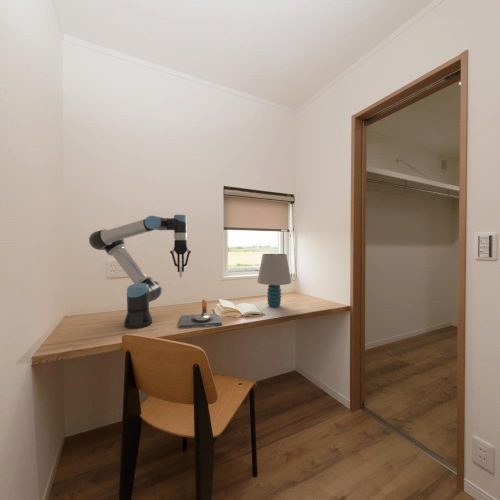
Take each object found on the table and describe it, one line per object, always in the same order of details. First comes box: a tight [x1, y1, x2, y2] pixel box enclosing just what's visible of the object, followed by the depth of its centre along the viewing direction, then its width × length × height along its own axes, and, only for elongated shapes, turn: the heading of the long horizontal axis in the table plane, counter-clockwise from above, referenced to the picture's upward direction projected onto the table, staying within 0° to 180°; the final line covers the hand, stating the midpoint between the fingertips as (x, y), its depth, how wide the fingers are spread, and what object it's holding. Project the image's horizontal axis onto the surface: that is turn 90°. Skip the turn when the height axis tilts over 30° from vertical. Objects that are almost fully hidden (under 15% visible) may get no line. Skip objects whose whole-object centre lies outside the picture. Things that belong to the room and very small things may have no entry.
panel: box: [178, 312, 223, 329], centre depth 153 cm, size 24×19×2 cm
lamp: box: [257, 253, 292, 308], centre depth 188 cm, size 25×25×39 cm
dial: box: [194, 299, 211, 321], centre depth 154 cm, size 14×10×10 cm
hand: (180, 277), depth 157 cm, fingers closed
